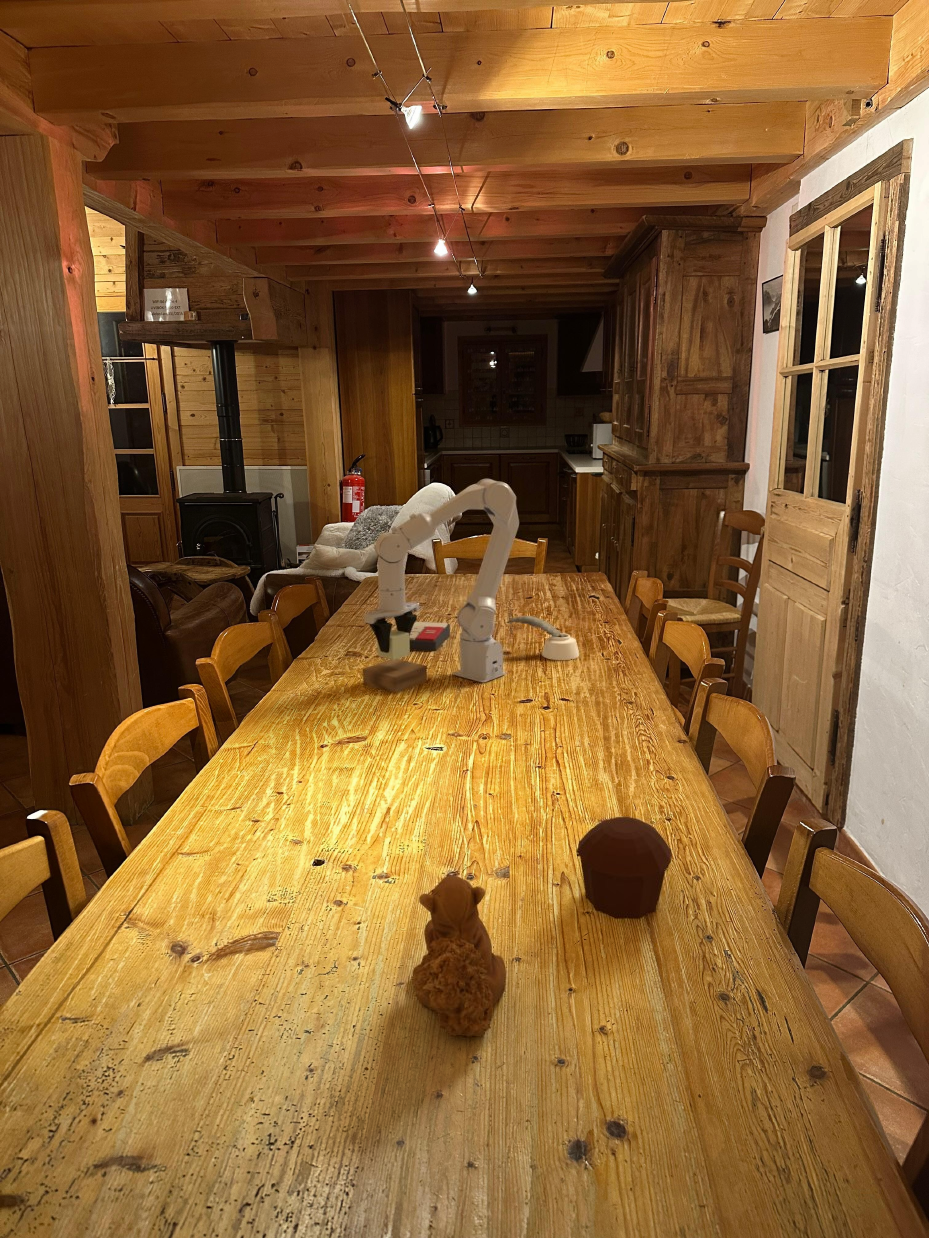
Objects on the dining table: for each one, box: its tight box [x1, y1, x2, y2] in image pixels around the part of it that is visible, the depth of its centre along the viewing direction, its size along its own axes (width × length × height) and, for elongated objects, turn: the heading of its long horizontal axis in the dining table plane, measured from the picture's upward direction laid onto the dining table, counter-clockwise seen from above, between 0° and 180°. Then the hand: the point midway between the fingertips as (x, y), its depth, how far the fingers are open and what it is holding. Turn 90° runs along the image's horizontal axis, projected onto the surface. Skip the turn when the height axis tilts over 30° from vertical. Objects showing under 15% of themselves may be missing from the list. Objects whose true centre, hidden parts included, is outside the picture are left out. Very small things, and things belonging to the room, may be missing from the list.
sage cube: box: [376, 629, 411, 660], centre depth 184 cm, size 5×5×5 cm
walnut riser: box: [362, 658, 428, 694], centre depth 186 cm, size 10×10×4 cm
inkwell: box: [506, 615, 580, 661], centre depth 204 cm, size 9×18×10 cm, turn 91°
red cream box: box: [409, 621, 451, 652], centre depth 218 cm, size 11×4×15 cm
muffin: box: [576, 816, 672, 920], centre depth 102 cm, size 12×11×10 cm
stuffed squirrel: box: [410, 874, 507, 1038], centre depth 84 cm, size 10×14×13 cm
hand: (394, 649), depth 184 cm, fingers closed on sage cube, 5 cm apart
